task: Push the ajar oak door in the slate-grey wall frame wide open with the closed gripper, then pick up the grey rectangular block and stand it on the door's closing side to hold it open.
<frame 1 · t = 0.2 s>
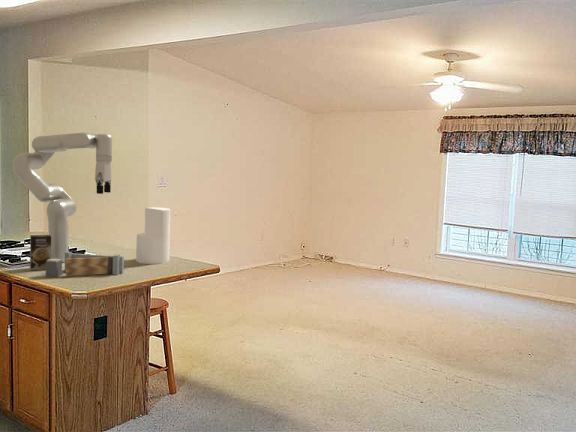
hand: (103, 193, 279), 36 cm above the table, tool pointing down, fingers open, 9 cm apart
stepped white column: (152, 261, 297), on the table
coffee box: (40, 269, 265), on the table
grey rectangular block: (53, 276, 252), on the table
door: (89, 265, 257), point 4 cm above the table, hinge at 30.0°
wall: (94, 271, 264), on the table
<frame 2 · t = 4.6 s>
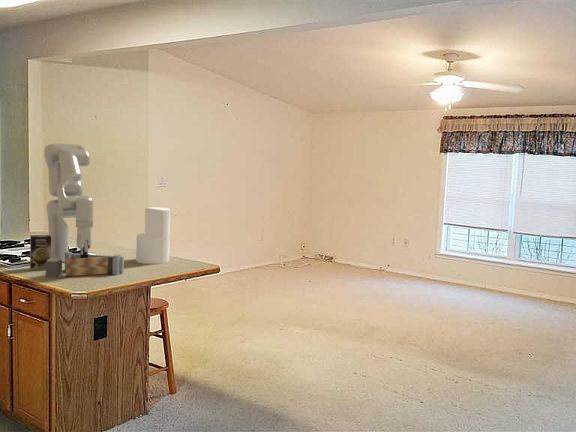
hand: (84, 262, 258), 5 cm above the table, tool pointing down, fingers closed
door: (89, 265, 256), point 4 cm above the table, hinge at 31.8°, touching gripper
everything else where it was.
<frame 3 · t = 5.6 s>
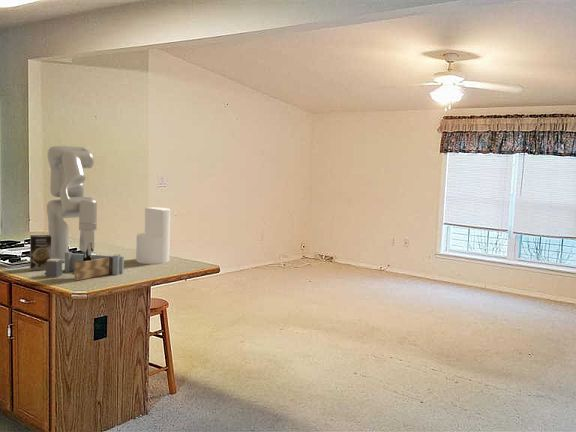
hand: (87, 266, 253), 5 cm above the table, tool pointing down, fingers closed
door: (94, 267, 252), point 4 cm above the table, hinge at 64.3°, touching gripper
everything else where it was.
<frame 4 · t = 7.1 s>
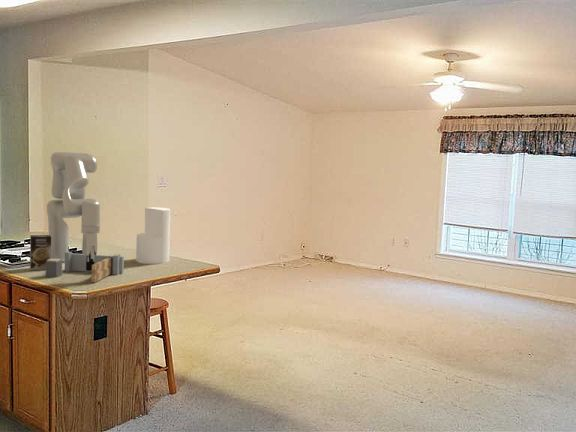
hand: (90, 270, 244), 5 cm above the table, tool pointing down, fingers closed
door: (102, 268, 251), point 4 cm above the table, hinge at 91.2°, touching gripper
everything else where it was.
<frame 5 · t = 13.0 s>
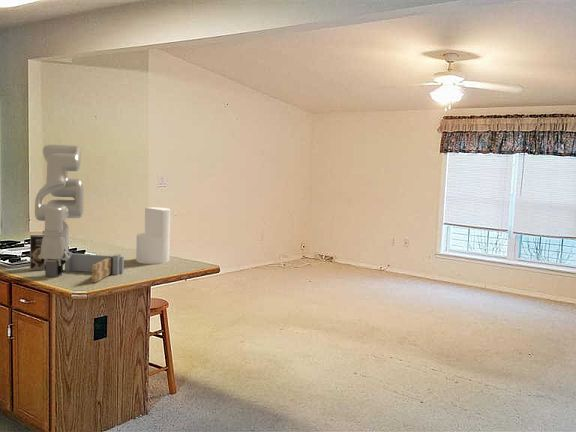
hand: (53, 273, 252), 1 cm above the table, tool pointing down, fingers closed on grey rectangular block, 5 cm apart
grey rectangular block: (53, 275, 252), on the table, touching gripper
door: (103, 268, 251), point 4 cm above the table, hinge at 92.0°
everything else where it was.
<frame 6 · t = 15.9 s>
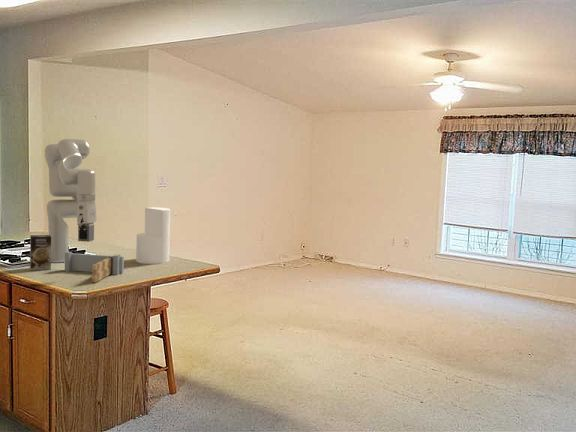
hand: (86, 237, 249), 18 cm above the table, tool pointing down, fingers closed on grey rectangular block, 5 cm apart
grey rectangular block: (86, 240, 249), point 17 cm above the table, touching gripper
everything else where it was.
when the fingers open (3 cm above the table, at t = 19.0 s): grey rectangular block drops 1 cm, on the table.
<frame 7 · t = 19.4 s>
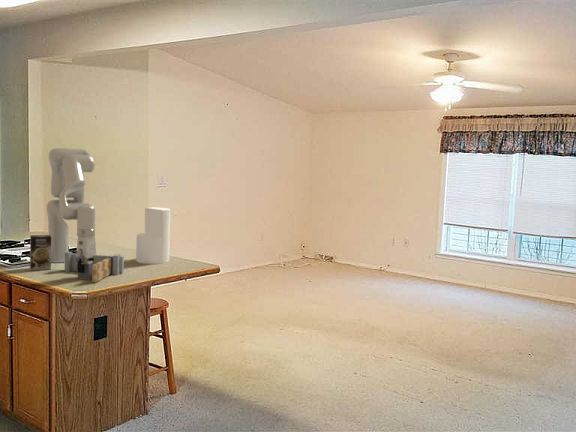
hand: (85, 270, 250), 3 cm above the table, tool pointing down, fingers open, 8 cm apart
grey rectangular block: (85, 278, 251), on the table
everything else where it was.
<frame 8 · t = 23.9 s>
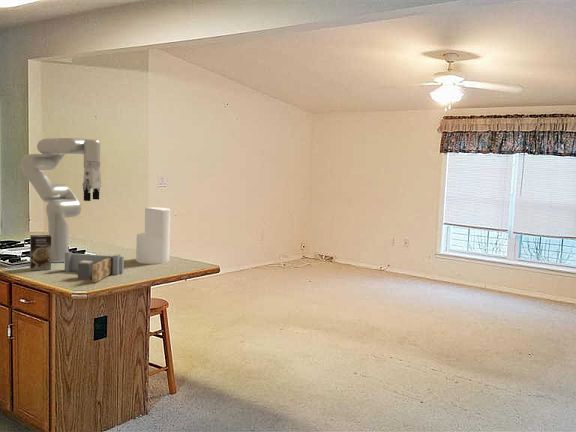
hand: (91, 200, 270), 33 cm above the table, tool pointing down, fingers open, 9 cm apart
nothing on the table moved.
at the end: door at +92° (first picture: +30°); grey rectangular block inside the target area (0.3 cm from its centre), on the table; grey rectangular block tilted 0° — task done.
